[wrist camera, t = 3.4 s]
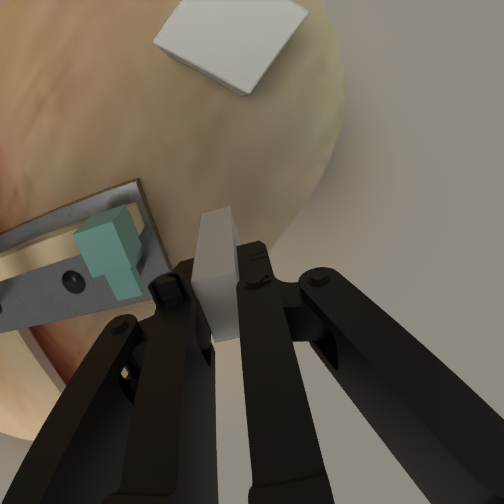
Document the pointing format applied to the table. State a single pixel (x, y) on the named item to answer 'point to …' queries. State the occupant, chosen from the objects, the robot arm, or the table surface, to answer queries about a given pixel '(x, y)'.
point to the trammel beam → (51, 247)
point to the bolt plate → (75, 265)
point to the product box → (230, 37)
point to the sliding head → (112, 251)
